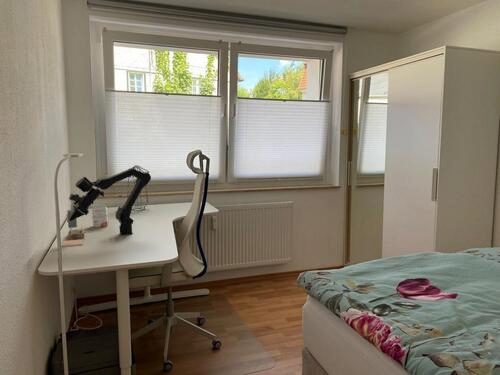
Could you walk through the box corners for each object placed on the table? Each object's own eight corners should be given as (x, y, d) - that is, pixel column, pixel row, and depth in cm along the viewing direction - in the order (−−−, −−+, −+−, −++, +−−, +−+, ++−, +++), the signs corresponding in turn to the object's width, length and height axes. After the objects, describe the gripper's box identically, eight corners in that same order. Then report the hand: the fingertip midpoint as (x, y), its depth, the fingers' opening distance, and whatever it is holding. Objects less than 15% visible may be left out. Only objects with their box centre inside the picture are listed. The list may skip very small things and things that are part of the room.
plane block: (84, 233, 218) (84, 226, 218) (83, 238, 208) (83, 230, 208) (69, 235, 215) (68, 227, 215) (68, 240, 205) (67, 232, 205)
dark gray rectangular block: (76, 225, 203) (75, 209, 202) (76, 227, 200) (75, 210, 199) (67, 226, 202) (66, 210, 200) (67, 228, 198) (66, 211, 197)
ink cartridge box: (108, 224, 241) (106, 202, 239) (107, 226, 237) (106, 203, 235) (94, 225, 239) (92, 203, 237) (92, 227, 234) (91, 204, 232)
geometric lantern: (123, 211, 286) (121, 165, 282) (135, 207, 300) (133, 164, 297) (141, 212, 281) (139, 165, 277) (152, 208, 296) (151, 164, 292)
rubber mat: (83, 240, 205) (83, 239, 205) (83, 245, 196) (82, 243, 196) (63, 242, 201) (63, 241, 201) (61, 247, 192) (61, 246, 192)
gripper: (76, 186, 208) (55, 207, 204) (80, 190, 192) (58, 213, 188) (92, 198, 213) (72, 219, 209) (97, 203, 197) (76, 226, 193)
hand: (69, 219), depth 200 cm, fingers closed on dark gray rectangular block, 4 cm apart
